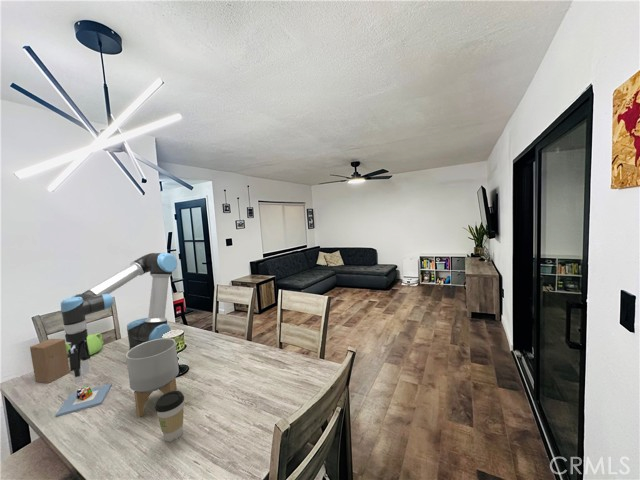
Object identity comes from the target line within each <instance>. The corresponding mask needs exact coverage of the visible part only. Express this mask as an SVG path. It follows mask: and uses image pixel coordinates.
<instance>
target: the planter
mask: <svg viewBox="0 0 640 480" xmlns="http://www.w3.org/2000/svg"><path fill="white" fill-rule="evenodd" d="M125 360H126V367H127V373H128V375H127V376H128V380H129V381H128V382H129V387H130V390H132V391H133V395H134V397H133V398H134V403H135V411H136V416H137V417H138V418H141V417H142V416H144V415H145V413H144V411H145V405H146V403H147V401H148V399H149V397H150V396H151V394H152V393H153V392H155V391H160V392H162V393H163V395H164V394H166V393H168V392H171V391H177V381H176V377H177V376H178V375H179V372H180V369H179V368H180V367H179V360H178V349H177V344H176V340H175V338H171V337H168V338H161V339H155V340H151V341H148V342H145V343H142V344H140V345H137V346H135V347H134V348H132V349H131V350H129V349H128V351H127V352H126V354H125Z"/></svg>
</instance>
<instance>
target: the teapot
mask: <svg viewBox="0 0 640 480" xmlns="http://www.w3.org/2000/svg"><path fill="white" fill-rule="evenodd" d="M98 336H99V337H98ZM102 338H103V334H102V333H99V332H97V333H95V334H93V333H92V334H88V336H87V344H88V349H89V354H90V356H91V355H94V354H96V353H97V354H98V353H99V352H100V351H101V349H102V347H103V345H104V340H102ZM65 344H66V351H67V355H69V352H68V350H69V349H71V345H70V344H69V343H65Z"/></svg>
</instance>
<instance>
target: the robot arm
mask: <svg viewBox="0 0 640 480" xmlns="http://www.w3.org/2000/svg"><path fill="white" fill-rule="evenodd" d="M177 267H178V260H177V258H176V257H175V256H174V254H172V253H169V252H150V253H147V254H145V255H142V256H141V257H139V258H136V260H134V261H132V262H130V264H129V265H128V266H126V267H125V268H124V269H122V270H120V271H119V272H116V273H115V274H113V275H112V276H109V277H108V278H106V279H104V280H102V281H101V282H99V283H98V284H96V285H95V286H93V287H91V288H89V289H87V290H85V291H84V292H82V293H78V294H74V295H72V296H71V297H70V298H69V297H68V298H65V299H63V300H61V302H60V312H61V315H62V317H61V318H62V323H63V326H62V329H64V333H65V334H64V337H65V343H71V344H70V348H71V349H69V350H68V352H69V354H68V356H69V357H68V358H69V370H70V372H73V377H74V383H75V384H80V383H83V382H84V381H85V380H84V375H86V374H89V373H90V372H91V370H90V363H89V362H90V361H89V359H91V355H90V354H89V349H88V344H87V336H88V335H89V334H88V329H87V328H88V326H87V320H86V316H88V315H91V314H95V313H97V312H101V311H106V310H107V309H110V308H112V307H113V306H114V297H113V296H112V293H113V292H115V291H116V290H117V289H119V288H121V287H122V286H124V285H125V284H126V285H127V283H129V282H131V281H132V280H133V279H135V278H137V277H138V276H143V275H145V274H147V273H149V275H150V276H151V277H152V280H151V290H150V299H149V307H148V308H149V309H148V315H147V316H148V317H143V318H139V319H135V320H133V321H131V322H129V323H127V325H126V331H127V337H128V338H127V340H128V345H129V346H128V347H129V348H128V351H129V350H131V349H132V348H134V347H135V346H137V345H140V344H142V343H145V342H148V341H151V340H155V339H161V338H162V336H163V334H165V333H167V332H169V331H172V330H171V327H170V325H169V324H168V318H167V317H166V310H167V309H166V308H167V300H168V289H169V279H170V277H172V275H173V272H174V271H175V270H176V269H177Z"/></svg>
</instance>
